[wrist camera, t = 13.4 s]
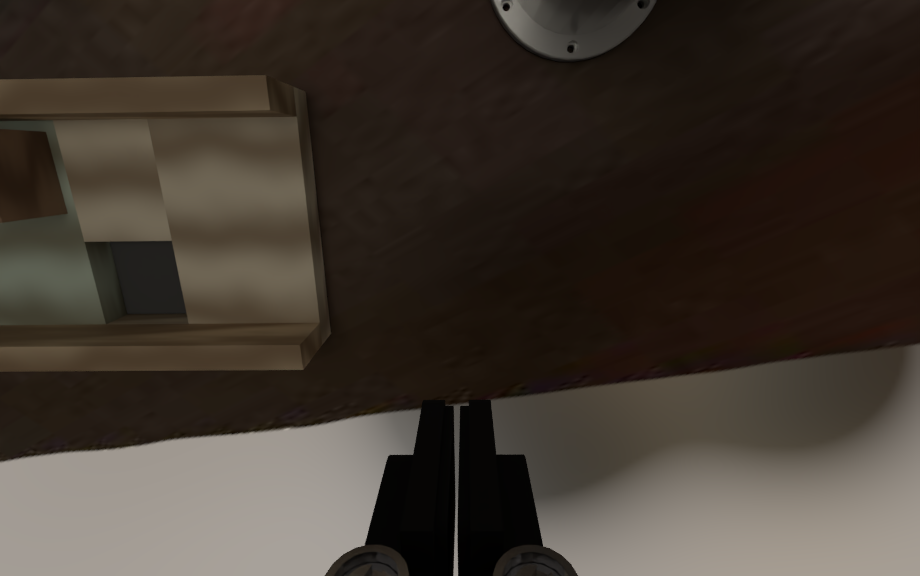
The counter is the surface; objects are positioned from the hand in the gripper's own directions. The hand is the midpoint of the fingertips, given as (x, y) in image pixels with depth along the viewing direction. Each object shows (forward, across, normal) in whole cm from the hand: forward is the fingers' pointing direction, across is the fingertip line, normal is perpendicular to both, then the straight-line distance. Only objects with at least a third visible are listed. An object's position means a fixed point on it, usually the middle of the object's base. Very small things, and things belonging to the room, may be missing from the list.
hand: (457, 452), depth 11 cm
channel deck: (+27, +26, -2) cm, 38 cm away
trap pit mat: (+27, +26, +2) cm, 38 cm away
